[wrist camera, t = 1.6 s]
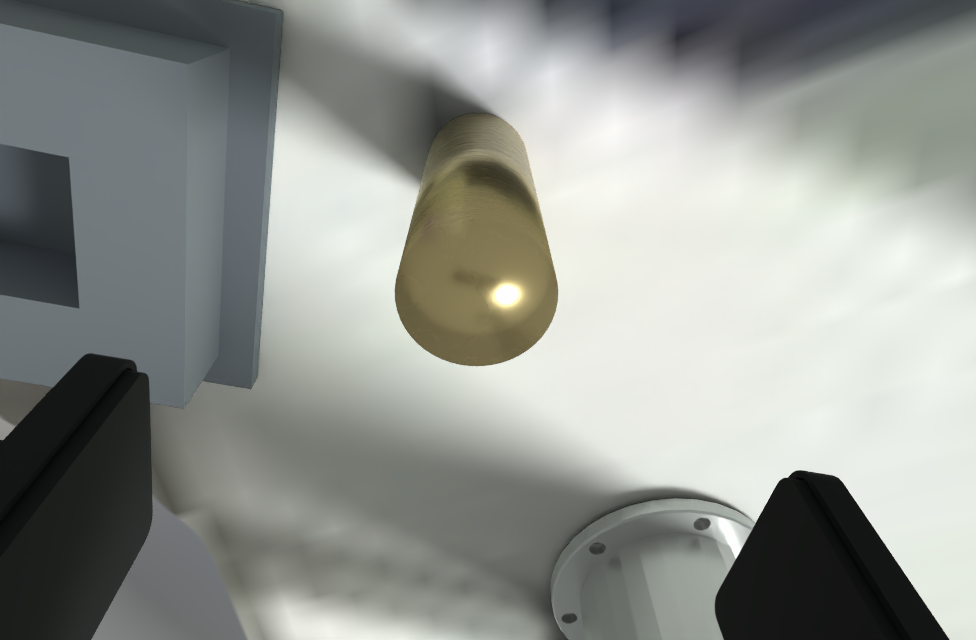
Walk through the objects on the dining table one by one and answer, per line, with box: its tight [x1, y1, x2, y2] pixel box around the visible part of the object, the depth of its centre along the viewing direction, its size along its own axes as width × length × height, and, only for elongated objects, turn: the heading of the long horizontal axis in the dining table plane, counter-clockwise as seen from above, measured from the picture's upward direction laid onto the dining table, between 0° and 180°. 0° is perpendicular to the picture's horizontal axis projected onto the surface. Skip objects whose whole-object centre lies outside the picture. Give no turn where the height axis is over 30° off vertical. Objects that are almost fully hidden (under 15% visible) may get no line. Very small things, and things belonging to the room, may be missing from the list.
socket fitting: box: [0, 0, 283, 409], centre depth 25 cm, size 16×16×5 cm
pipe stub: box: [395, 113, 558, 366], centre depth 22 cm, size 4×4×12 cm
